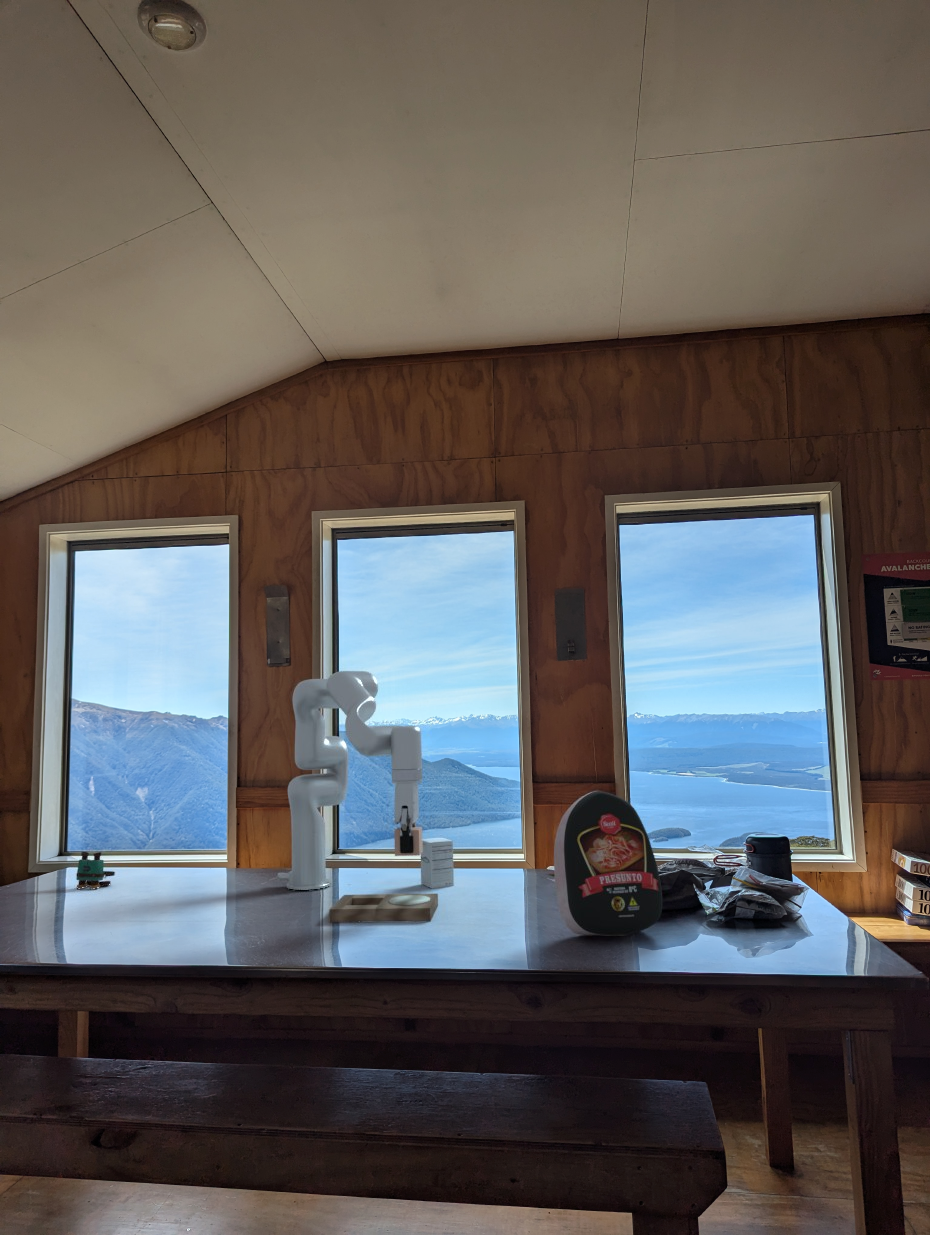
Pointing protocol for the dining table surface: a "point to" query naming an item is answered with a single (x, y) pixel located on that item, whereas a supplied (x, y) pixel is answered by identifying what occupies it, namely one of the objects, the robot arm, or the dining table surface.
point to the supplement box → (437, 863)
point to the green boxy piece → (92, 871)
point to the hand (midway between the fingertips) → (408, 850)
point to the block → (416, 842)
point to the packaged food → (605, 868)
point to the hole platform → (384, 907)
